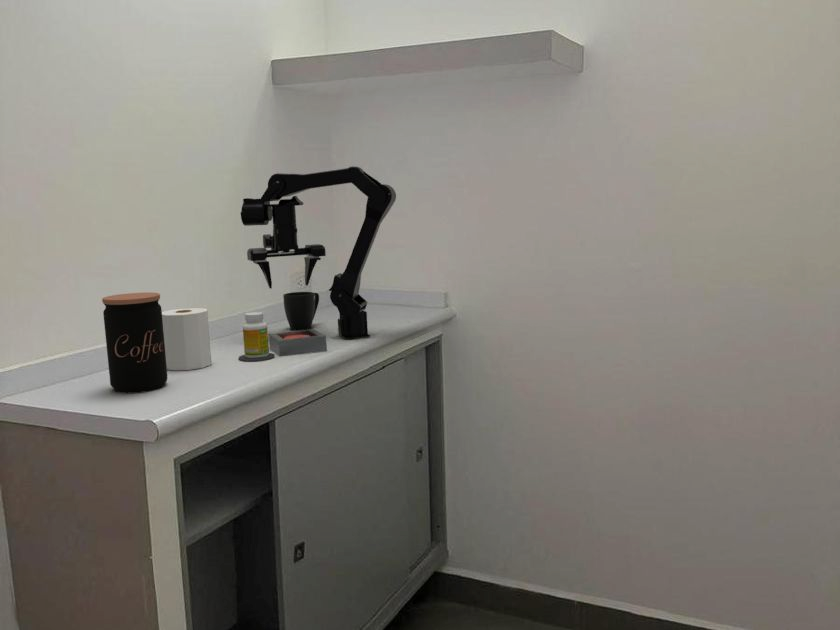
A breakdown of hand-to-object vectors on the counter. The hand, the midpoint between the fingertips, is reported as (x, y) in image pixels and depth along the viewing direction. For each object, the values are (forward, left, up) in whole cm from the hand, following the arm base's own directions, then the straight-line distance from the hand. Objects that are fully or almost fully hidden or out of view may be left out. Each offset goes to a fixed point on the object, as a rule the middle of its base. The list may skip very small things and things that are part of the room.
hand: (288, 286), depth 209 cm
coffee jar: (+39, +37, -13) cm, 55 cm away
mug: (-7, -14, -13) cm, 20 cm away
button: (+3, +16, -13) cm, 21 cm away
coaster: (+13, +21, -13) cm, 28 cm away
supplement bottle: (+13, +21, -13) cm, 28 cm away
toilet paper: (+28, +21, -13) cm, 37 cm away
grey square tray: (+2, +17, -13) cm, 21 cm away
